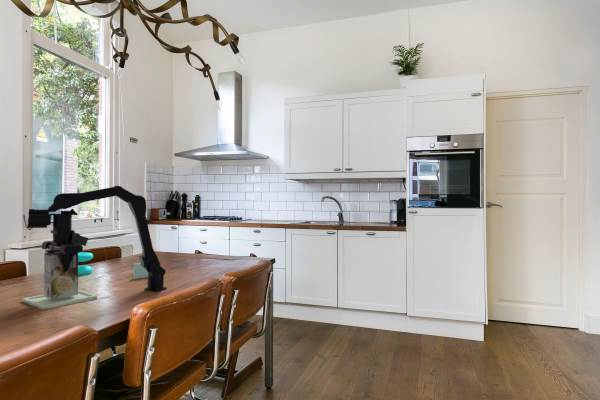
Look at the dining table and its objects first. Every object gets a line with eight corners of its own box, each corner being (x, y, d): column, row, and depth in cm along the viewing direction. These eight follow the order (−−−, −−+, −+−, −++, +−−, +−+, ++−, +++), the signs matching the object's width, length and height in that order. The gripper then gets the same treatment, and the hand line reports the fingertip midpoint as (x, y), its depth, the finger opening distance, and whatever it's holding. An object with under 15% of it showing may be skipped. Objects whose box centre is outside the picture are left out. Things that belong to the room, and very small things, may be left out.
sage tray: (97, 298, 138) (97, 295, 138) (42, 309, 123) (42, 306, 123) (76, 291, 147) (76, 288, 147) (22, 301, 132) (22, 298, 132)
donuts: (90, 254, 177) (66, 255, 174) (90, 275, 177) (66, 276, 174) (95, 251, 187) (72, 252, 184) (94, 271, 187) (72, 272, 184)
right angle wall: (145, 273, 189) (146, 258, 189) (158, 276, 181) (158, 261, 181) (122, 276, 179) (122, 261, 179) (134, 280, 172) (134, 264, 172)
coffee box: (71, 292, 140) (71, 250, 140) (78, 295, 136) (79, 251, 136) (43, 297, 133) (44, 252, 133) (50, 300, 129) (51, 254, 129)
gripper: (98, 227, 136) (97, 270, 136) (73, 225, 147) (72, 264, 147) (65, 229, 127) (64, 274, 127) (41, 226, 137) (40, 268, 137)
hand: (61, 270), depth 135 cm, fingers closed on coffee box, 6 cm apart
